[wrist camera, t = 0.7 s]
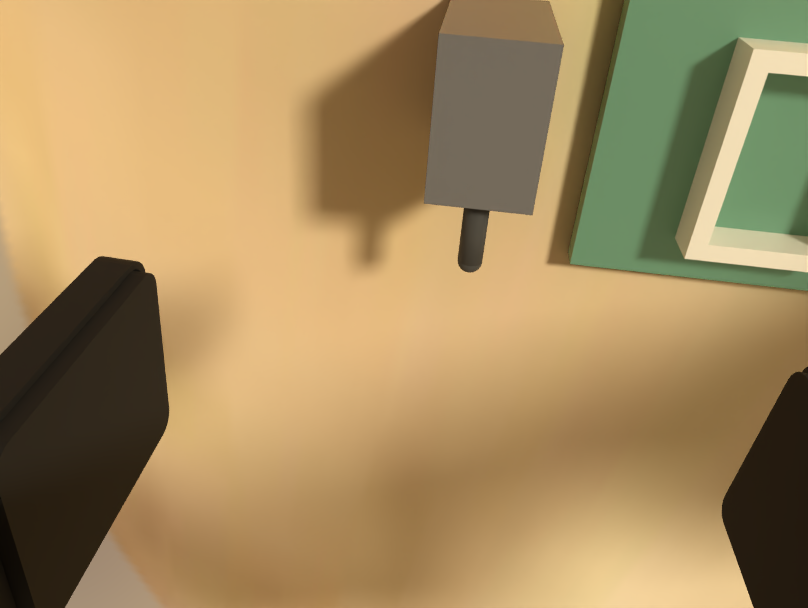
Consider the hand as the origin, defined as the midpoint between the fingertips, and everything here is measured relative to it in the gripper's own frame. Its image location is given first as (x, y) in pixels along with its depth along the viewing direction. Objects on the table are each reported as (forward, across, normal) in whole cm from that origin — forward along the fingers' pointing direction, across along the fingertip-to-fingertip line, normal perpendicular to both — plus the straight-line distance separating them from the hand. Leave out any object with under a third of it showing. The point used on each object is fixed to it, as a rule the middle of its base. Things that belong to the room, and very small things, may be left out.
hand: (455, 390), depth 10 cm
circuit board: (+23, -14, +2) cm, 27 cm away
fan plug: (+23, -1, +3) cm, 23 cm away
